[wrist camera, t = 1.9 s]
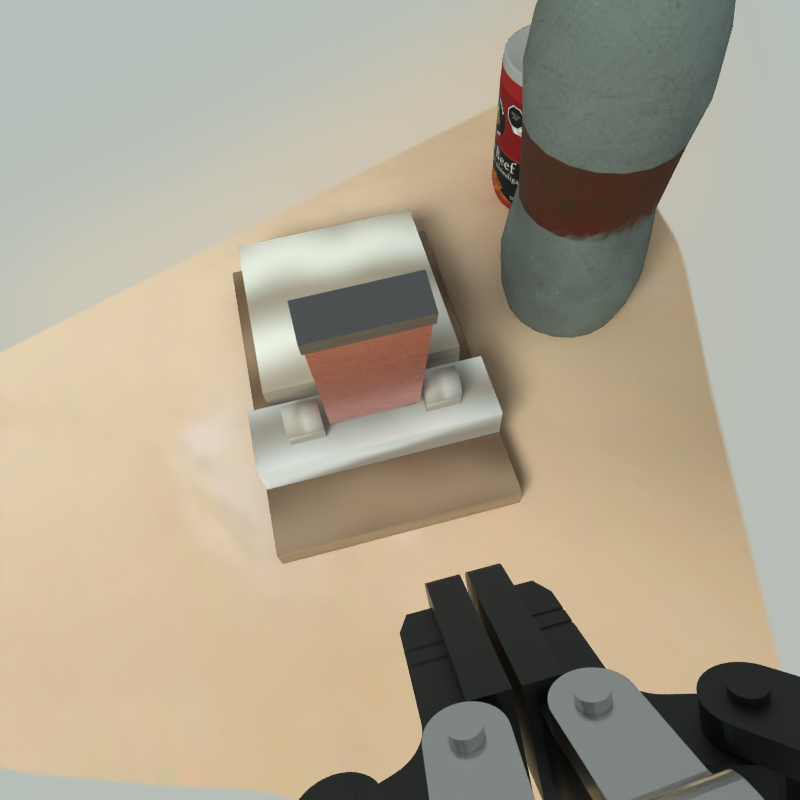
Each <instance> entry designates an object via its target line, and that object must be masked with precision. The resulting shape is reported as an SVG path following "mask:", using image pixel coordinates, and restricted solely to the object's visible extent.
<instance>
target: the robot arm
mask: <svg viewBox="0 0 800 800" xmlns="http://www.w3.org/2000/svg"><path fill="white" fill-rule="evenodd" d="M465 576H466V583H467V588H468V592H467V589H466V587H465V585H464V583H463V581H462V579H461V577H460V575H455V576H451V577H448V578H444V579H440V580H436V581H433V582H429V583H425V587H426V593H427V597H428V601H429V606H430V609H426V610H423V611H419V612H415V613H412V614H408V615H406V618H405V620H404V623H403V626H402V629H401V631H400V636H401V640H402V644H403V648H404V652H405V657H406V661H407V665H408V669H409V673H410V677H411V682H412V686H413V690H414V694H415V698H416V703H417V707H418V711H419V715H420V719H421V724H422V739H421V743H420V745H419V747H418V750H417V751H416V753H415V755H414V756H413V758H412V759H411V760H410V761H409V762H408V763H407V764H406V765H405V766H404V767H403V768H402V769H401V770H399V771H398V772H396V773H395V774H393V775H392V776H390V777H389V778H387V779H385V780H384V781H382V782H381V783H379V784H378V783H377V782H376V781H375V780H374V779H373V778H371V777H370V776H367V775H365V774H361V773H357V772H345V773H339V774H335V775H332V776H329V777H327V778H325V779H323V780H321V781H319V782H317V783H316V784H315V785H313V786H312V787H311V788H309V789H308V790H307V791H306V792H305V793H304V794H303V795H302V797H301V798H300V799H299V800H535V798H534V795H533V791H532V786H531V781H530V776H529V771H528V767H529V769H530V771H531V774H532V776H533V779H534V781H535V783H536V786H537V788H538V790H539V793H540V795H541V797H542V800H800V677H799V676H796V675H792V674H789V673H786V672H782V671H779V670H776V669H772V668H769V667H766V666H762V665H758V664H754V663H747V662H729V663H724V664H720V665H716V666H714V667H712V668H710V669H708V670H707V671H705V672H704V673H703V674H702V675H701V677H700V678H699V680H698V682H697V694H651V693H645V692H641V691H639V690H638V689H637V687H636V686H635V685H634V684H633V683H632V682H631V681H630V680H629V679H628V678H626V677H625V676H623V675H621V674H619V673H617V672H615V671H612V670H609V669H606V668H605V667H604V665H603V664H602V663H601V661H600V660H599V658H598V657H597V655H596V654H595V653H594V651H593V650H592V648H591V647H590V646H589V644H588V643H587V641H586V640H585V638H584V637H583V636H582V634H581V633H580V631H579V630H578V628H577V627H576V626H575V624H574V623H572V621H571V619H570V617H569V616H568V614H567V613H566V611H565V610H563V608H562V606H561V604H560V603H559V601H558V600H557V599H556V597H555V596H554V594H553V593H552V592H551V591H550V590H548V589H546V588H544V587H543V586H541V585H539V584H537V583H535V582H534V581H529V582H525V583H522V584H518V585H513V583H512V582H511V580H510V578H509V577H508V575H507V573H506V572H505V570H504V568H503V567H502V565H501V564H496V565H492V566H488V567H484V568H481V569H477V570H473V571H469V572H466V574H465ZM468 593H469V594H468ZM527 764H528V766H527Z"/></svg>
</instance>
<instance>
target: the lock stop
mask: <svg viewBox="0 0 800 800" xmlns="http://www.w3.org/2000/svg"><path fill="white" fill-rule="evenodd" d="M287 302H288V306H289V310H290V315H291V319H292V323H293V328H294V332H295V337H296V341H297V345H298V348H299V351H300V353H301V355H305V358H306V361H307V363H308V366H309V369H310V371H311V374H312V377H313V379H314V382H315V385H316V387H317V390H318V393H319V395H320V398H321V401H322V403H323V406H324V409H325V411H326V414H327V417H328V419H329V422H330V423H332V424H336V423H340V422H344V421H348V420H353V419H357V418H361V417H365V416H369V415H373V414H377V413H381V412H385V411H389V410H393V409H398V408H402V407H406V406H410V405H414V404H417V402H420V398H421V392H422V386H423V380H424V374H425V369H426V363H427V357H428V351H429V345H430V339H431V333H432V327H433V324H437V319H438V314H439V313H438V309H437V306H436V303H435V299H434V296H433V292H432V289H431V286H430V282H429V279H428V275H427V272H426V269H425V270H420V271H416V272H412V273H407V274H403V275H398V276H394V277H390V278H385V279H381V280H376V281H372V282H368V283H363V284H359V285H354V286H350V287H346V288H341V289H337V290H332V291H328V292H324V293H319V294H315V295H310V296H306V297H302V298H297V299H293V300H288V301H287Z"/></svg>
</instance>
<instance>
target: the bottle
mask: <svg viewBox="0 0 800 800" xmlns="http://www.w3.org/2000/svg"><path fill="white" fill-rule="evenodd" d="M735 1H736V0H538V1H537V4H536V7H535V11H534V15H533V19H532V23H531V27H530V31H529V36H528V40H527V44H526V48H525V52H524V56H523V111H522V132H521V152H520V172H519V183H518V186H517V189H516V192H515V195H514V198H513V201H512V205H511V208H510V211H509V214H508V218H507V221H506V225H505V228H504V232H503V235H502V239H501V279H502V285H503V289H504V292H505V296H506V298H507V301H508V304H509V306H510V309H511V310H512V311H513V312H514V314H515V315H516V316H517V317H518V318H519V320H520V321H521V322H523V323H524V324H526V325H527V326H529V327H531V328H532V329H534V330H535V331H538V332H541V333H544V334H547V335H550V336H555V337H576V336H581V335H586V334H590V333H592V332H593V331H595V330H597V329H599V328H601V327H603V326H604V325H605V324H606V323H607V322H608V321H609V320H610V319H611V318H612V317H613V316H614V315H615V314H616V313H617V311H618V310H619V309H620V308H621V307H622V306H623V305H624V303H625V302H626V300H627V299H628V297H629V295H630V294H631V292H632V290H633V289H634V287H635V285H636V284H637V282H638V280H639V278H640V275H641V272H642V269H643V266H644V262H645V258H646V253H647V249H648V244H649V240H650V236H651V231H652V225H653V220H654V214H655V209H656V207H657V205H658V203H659V201H660V199H661V197H662V195H663V193H664V191H665V189H666V187H667V185H668V183H669V181H670V179H671V177H672V174H673V172H674V170H675V168H676V166H677V164H678V162H679V160H680V158H681V156H682V154H683V152H684V150H685V148H686V146H687V144H688V142H689V140H690V138H691V137H692V135H693V133H694V131H695V129H696V128H697V126H698V124H699V122H700V120H701V118H702V117H703V115H704V113H705V111H706V109H707V107H708V105H709V104H710V102H711V100H712V98H713V94H714V91H715V88H716V85H717V82H718V78H719V74H720V71H721V67H722V63H723V60H724V56H725V52H726V49H727V45H728V42H729V38H730V34H731V31H732V27H733V19H734V10H735Z"/></svg>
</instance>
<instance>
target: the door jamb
mask: <svg viewBox="0 0 800 800" xmlns="http://www.w3.org/2000/svg"><path fill="white" fill-rule="evenodd" d="M238 250H239V256H240V262H241V268H242V271H240V272H235V273H233V279H234V285H235V292H236V298H237V304H238V311H239V317H240V323H241V330H242V336H243V342H244V349H245V355H246V361H247V368H248V374H249V380H250V387H251V393H252V399H253V406H254V411H249V412H248V416H249V423H250V430H251V436H252V443H253V449H254V456H255V463H256V469H257V474H258V476H259V478H260V479H261V481H262V483H263V484H264V486H265V488H266V489H267V495H268V501H269V507H270V514H271V520H272V526H273V533H274V539H275V545H276V552H277V556H278V558H279V559H280V561H281V562H282V563H283V564H284V563H288V562H292V561H296V560H300V559H303V558H307V557H311V556H315V555H319V554H323V553H326V552H330V551H334V550H338V549H342V548H346V547H349V546H353V545H357V544H361V543H365V542H369V541H372V540H376V539H380V538H384V537H388V536H392V535H395V534H399V533H403V532H407V531H411V530H415V529H418V528H422V527H426V526H430V525H434V524H438V523H441V522H445V521H449V520H453V519H457V518H461V517H464V516H468V515H472V514H476V513H480V512H484V511H487V510H491V509H495V508H499V507H503V506H507V505H510V504H514V503H518V502H520V498H521V495H522V490H521V488H520V485H519V482H518V480H517V477H516V474H515V472H514V469H513V466H512V464H511V461H510V458H509V456H508V453H507V450H506V448H505V445H504V442H503V440H502V437H501V435H500V432H499V431H500V425H501V420H502V414H503V412H502V409H501V407H500V404H499V402H498V399H497V396H496V394H495V391H494V389H493V386H492V383H491V381H490V378H489V376H488V373H487V370H486V368H485V365H484V363H483V360H482V357H481V356H479V357H474V358H472V357H471V355H470V352H469V349H468V347H467V344H466V341H465V339H464V336H463V333H462V331H461V328H460V325H459V323H458V320H457V317H456V315H455V312H454V309H453V307H452V304H451V301H450V299H449V296H448V293H447V291H446V288H445V285H444V283H443V280H442V277H441V275H440V272H439V269H438V267H437V264H436V261H435V259H434V256H433V253H432V251H431V248H430V245H429V243H428V240H427V237H426V235H425V232H424V231H420V232H418V231H417V229H416V226H415V223H414V221H413V218H412V215H411V212H410V210H405V211H400V212H396V213H391V214H386V215H382V216H377V217H373V218H368V219H363V220H359V221H354V222H350V223H345V224H341V225H336V226H331V227H327V228H322V229H318V230H313V231H309V232H304V233H299V234H295V235H290V236H286V237H281V238H277V239H272V240H267V241H263V242H258V243H254V244H249V245H245V246H240V247H238ZM425 269H426V272H427V275H428V279H429V282H430V286H431V289H432V292H433V296H434V299H435V303H436V306H437V309H438V313H439V314H438V319H437V324H433V327H432V333H431V339H430V345H429V351H428V357H427V363H426V369H425V374H424V380H423V386H422V392H421V398H420V402H417V404H414V405H410V406H406V407H402V408H398V409H393V410H389V411H385V412H381V413H377V414H373V415H369V416H365V417H361V418H357V419H353V420H348V421H344V422H340V423H336V424H332V423H330V422H329V419H328V417H327V414H326V411H325V409H324V406H323V403H322V401H321V398H320V395H319V393H318V390H317V387H316V385H315V382H314V379H313V377H312V374H311V371H310V369H309V366H308V363H307V361H306V358H305V355H301V353H300V351H299V348H298V345H297V341H296V337H295V332H294V328H293V323H292V319H291V315H290V310H289V306H288V302H287V301H288V300H293V299H297V298H302V297H306V296H310V295H315V294H319V293H324V292H328V291H332V290H337V289H341V288H346V287H350V286H354V285H359V284H363V283H368V282H372V281H376V280H381V279H385V278H390V277H394V276H398V275H403V274H407V273H412V272H416V271H420V270H425Z"/></svg>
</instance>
